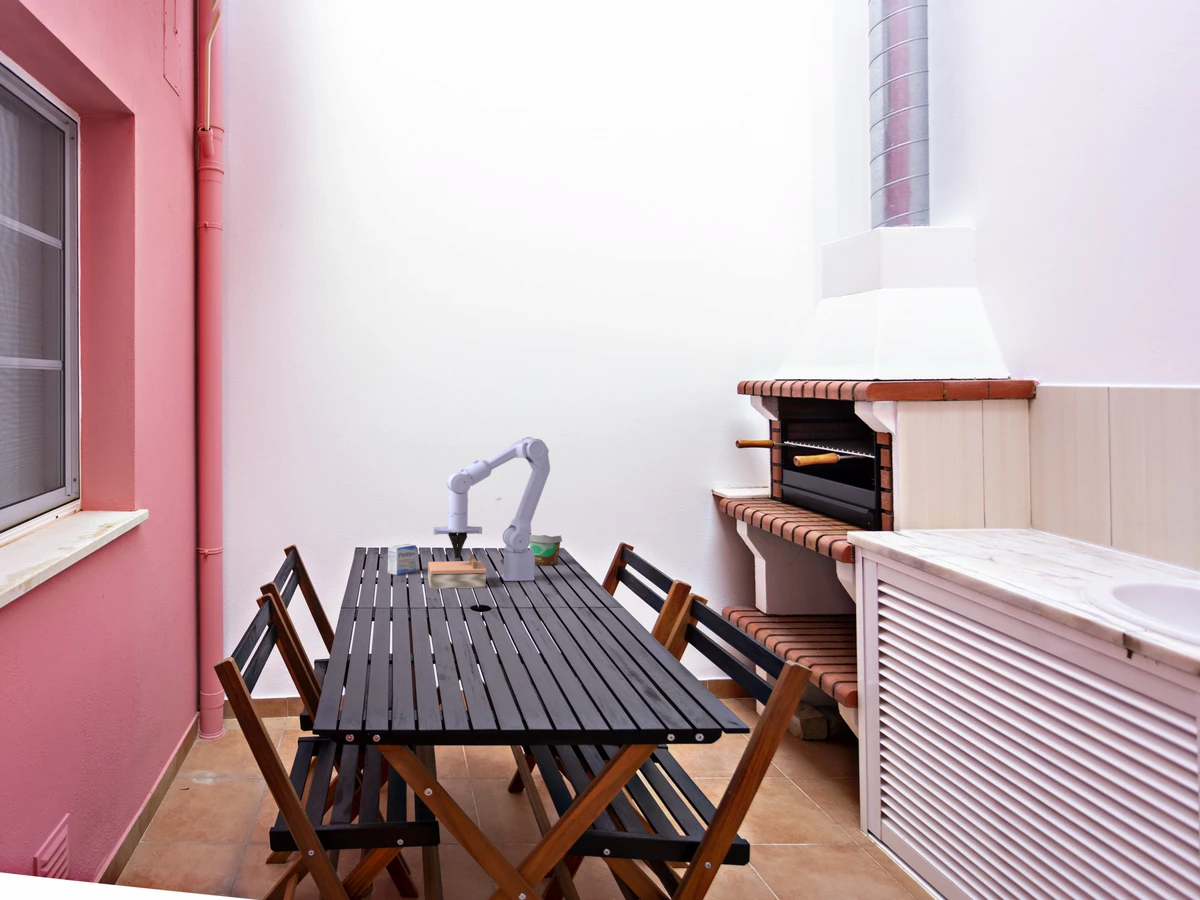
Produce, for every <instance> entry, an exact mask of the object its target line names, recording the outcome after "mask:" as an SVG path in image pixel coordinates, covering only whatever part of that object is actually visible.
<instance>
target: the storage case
mask: <svg viewBox="0 0 1200 900" xmlns="http://www.w3.org/2000/svg"><path fill="white" fill-rule="evenodd" d="M486 577H487V572H486V573H464V574H431V573H430V569H429V566H427V580H428V584H429V588H430V589H431V590H435V589H439V590H440V589H475V588H486V586H487V583H486V582H487V580H486V579H487V578H486Z"/></svg>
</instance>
